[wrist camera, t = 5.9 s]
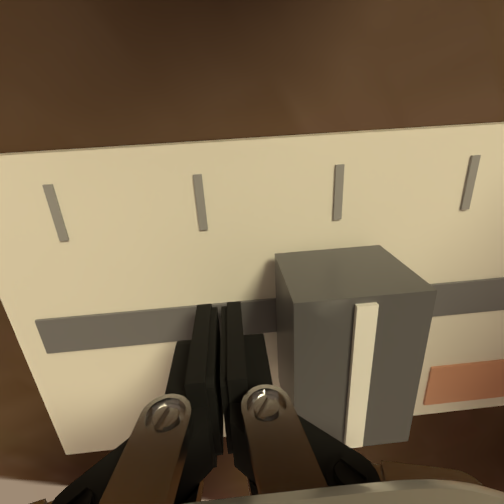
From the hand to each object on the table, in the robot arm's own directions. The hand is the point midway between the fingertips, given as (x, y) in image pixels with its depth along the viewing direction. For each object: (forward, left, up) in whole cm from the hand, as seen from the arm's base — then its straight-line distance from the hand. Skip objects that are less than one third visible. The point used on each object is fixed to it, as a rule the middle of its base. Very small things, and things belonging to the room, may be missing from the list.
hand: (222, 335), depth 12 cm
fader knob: (-4, 0, -1) cm, 4 cm away
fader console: (-5, 0, -3) cm, 5 cm away
